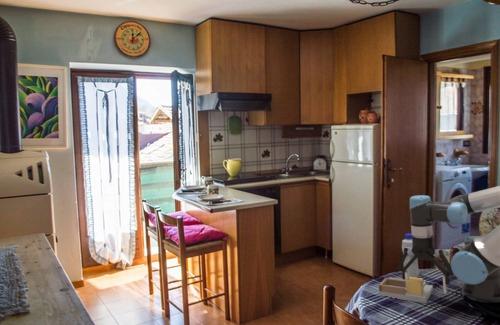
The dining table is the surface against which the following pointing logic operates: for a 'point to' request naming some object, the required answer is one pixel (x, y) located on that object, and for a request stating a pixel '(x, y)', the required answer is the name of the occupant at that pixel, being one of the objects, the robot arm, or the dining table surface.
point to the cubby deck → (402, 290)
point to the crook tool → (396, 278)
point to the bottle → (410, 256)
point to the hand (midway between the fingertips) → (426, 290)
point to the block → (415, 286)
